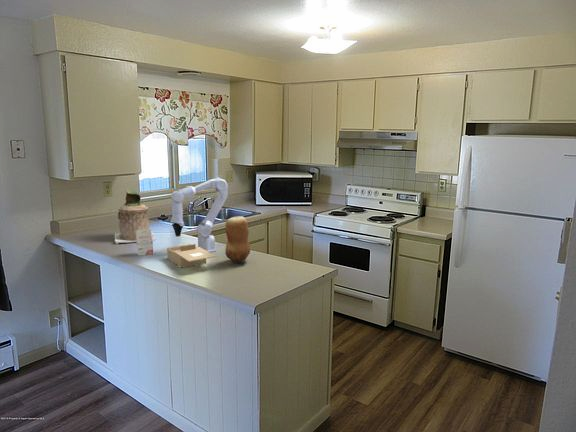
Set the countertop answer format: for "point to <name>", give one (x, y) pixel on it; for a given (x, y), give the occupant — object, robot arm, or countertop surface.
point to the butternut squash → (237, 239)
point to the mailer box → (180, 260)
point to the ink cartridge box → (144, 242)
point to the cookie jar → (132, 219)
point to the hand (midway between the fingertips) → (178, 236)
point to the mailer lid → (193, 253)
